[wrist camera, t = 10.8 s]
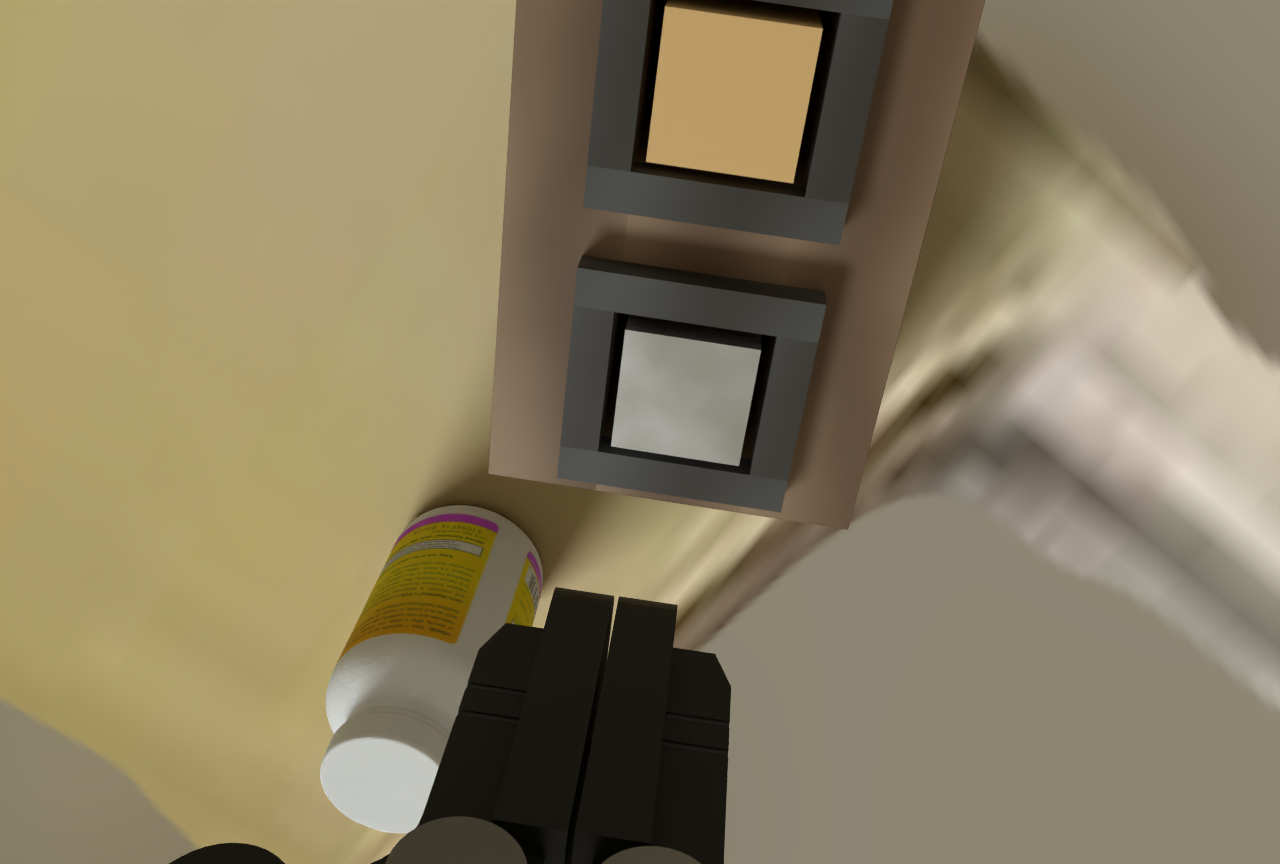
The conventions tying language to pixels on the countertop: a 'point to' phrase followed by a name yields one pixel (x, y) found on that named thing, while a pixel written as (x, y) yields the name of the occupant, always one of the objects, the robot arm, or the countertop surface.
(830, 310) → the walnut block
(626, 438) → the grey metal peg
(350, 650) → the supplement bottle
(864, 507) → the countertop surface
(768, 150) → the ochre peg
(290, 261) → the countertop surface
